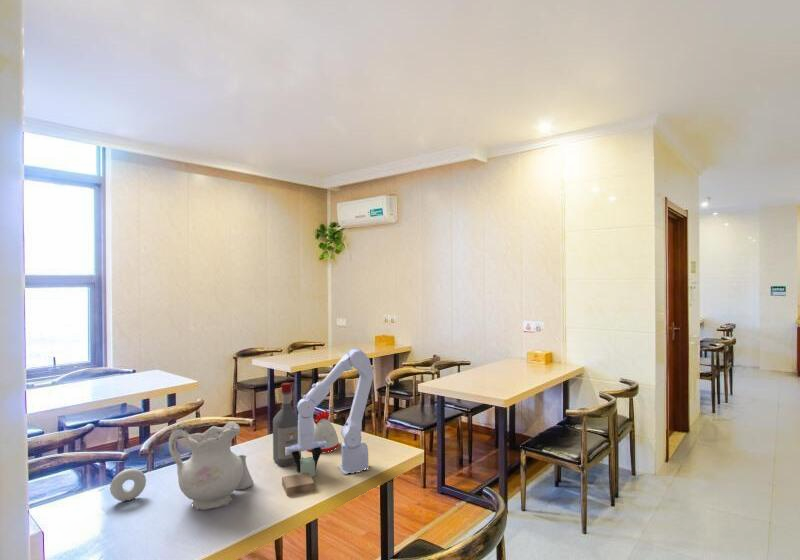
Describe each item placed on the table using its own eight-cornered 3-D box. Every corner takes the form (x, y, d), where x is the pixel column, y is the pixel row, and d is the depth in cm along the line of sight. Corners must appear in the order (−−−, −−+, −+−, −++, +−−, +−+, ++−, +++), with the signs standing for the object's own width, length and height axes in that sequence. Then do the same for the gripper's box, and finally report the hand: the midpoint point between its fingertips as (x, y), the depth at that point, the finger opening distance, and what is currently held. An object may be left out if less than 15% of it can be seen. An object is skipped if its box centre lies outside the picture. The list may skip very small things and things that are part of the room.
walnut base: (308, 480, 160) (308, 472, 160) (314, 491, 152) (314, 482, 152) (282, 485, 157) (281, 477, 157) (287, 497, 149) (286, 487, 149)
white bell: (345, 446, 192) (344, 410, 192) (319, 456, 182) (318, 418, 182) (324, 438, 201) (323, 404, 201) (298, 447, 191) (297, 411, 191)
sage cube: (311, 470, 168) (311, 456, 168) (315, 475, 164) (314, 461, 164) (298, 472, 166) (297, 459, 166) (301, 478, 161) (300, 464, 161)
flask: (245, 491, 152) (245, 461, 152) (226, 489, 154) (225, 459, 154) (257, 481, 159) (256, 453, 159) (238, 480, 161) (237, 451, 161)
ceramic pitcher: (169, 527, 133) (169, 443, 131) (168, 494, 150) (168, 419, 148) (247, 509, 143) (248, 431, 141) (238, 480, 160) (238, 410, 158)
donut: (110, 507, 143) (109, 474, 143) (109, 502, 146) (109, 471, 145) (146, 498, 148) (146, 467, 148) (145, 493, 151) (145, 463, 151)
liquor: (303, 462, 176) (302, 384, 175) (279, 468, 170) (278, 387, 170) (294, 454, 183) (293, 379, 183) (271, 460, 178) (270, 383, 178)
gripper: (322, 426, 171) (323, 462, 171) (283, 432, 165) (284, 469, 165) (328, 432, 165) (328, 469, 165) (287, 438, 159) (287, 477, 159)
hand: (306, 470), depth 165 cm, fingers closed on sage cube, 5 cm apart
